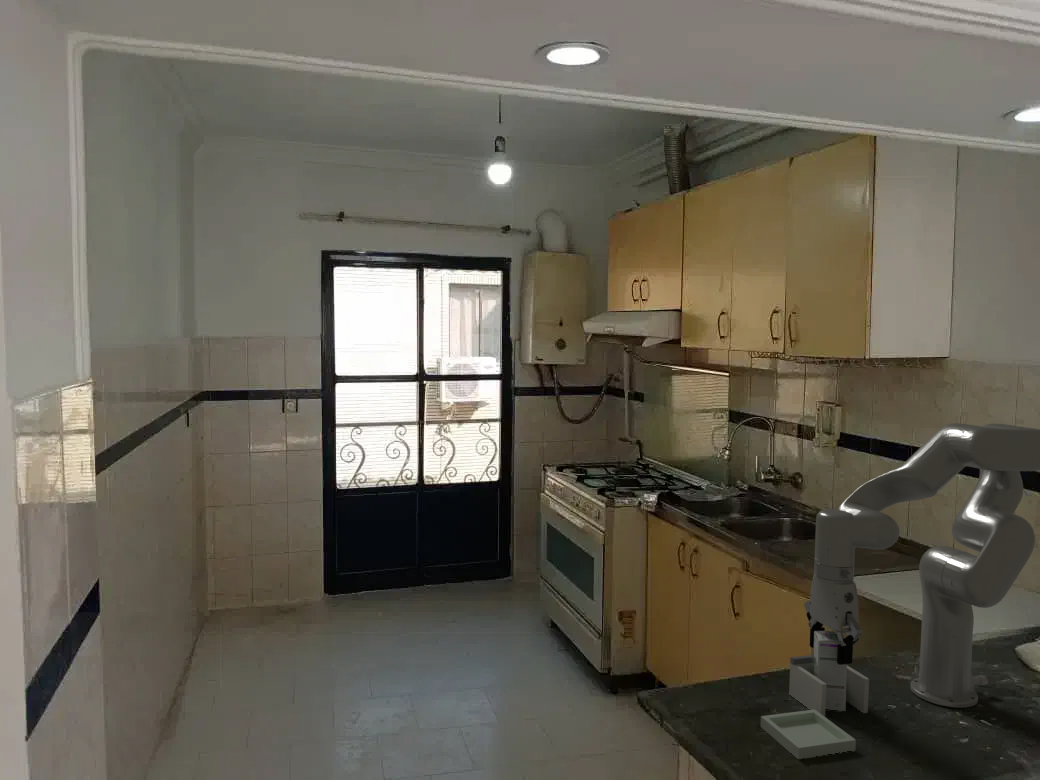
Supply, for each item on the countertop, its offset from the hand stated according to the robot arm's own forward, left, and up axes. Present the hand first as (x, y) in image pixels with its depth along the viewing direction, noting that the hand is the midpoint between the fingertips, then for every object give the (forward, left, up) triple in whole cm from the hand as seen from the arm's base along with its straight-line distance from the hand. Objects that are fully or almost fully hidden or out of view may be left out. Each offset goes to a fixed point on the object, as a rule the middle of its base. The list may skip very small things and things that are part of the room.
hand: (830, 654), depth 159 cm
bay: (0, 0, -10) cm, 10 cm away
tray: (+13, +11, -10) cm, 20 cm away
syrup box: (0, 0, -11) cm, 11 cm away
